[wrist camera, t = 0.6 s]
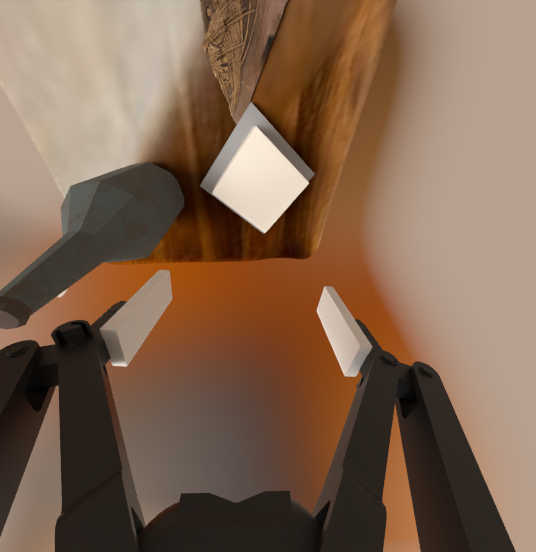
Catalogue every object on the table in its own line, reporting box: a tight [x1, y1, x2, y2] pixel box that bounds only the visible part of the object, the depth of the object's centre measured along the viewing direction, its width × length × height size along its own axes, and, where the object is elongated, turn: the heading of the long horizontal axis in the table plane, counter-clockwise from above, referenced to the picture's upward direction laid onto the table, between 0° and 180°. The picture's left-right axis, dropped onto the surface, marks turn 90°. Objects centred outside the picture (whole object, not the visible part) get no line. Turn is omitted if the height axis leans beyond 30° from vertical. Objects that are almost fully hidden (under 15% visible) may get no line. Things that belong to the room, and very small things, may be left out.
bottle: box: [0, 162, 185, 329], centre depth 24 cm, size 10×10×30 cm
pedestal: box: [200, 102, 315, 233], centre depth 33 cm, size 15×15×8 cm
